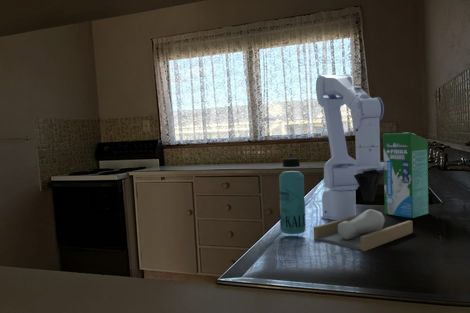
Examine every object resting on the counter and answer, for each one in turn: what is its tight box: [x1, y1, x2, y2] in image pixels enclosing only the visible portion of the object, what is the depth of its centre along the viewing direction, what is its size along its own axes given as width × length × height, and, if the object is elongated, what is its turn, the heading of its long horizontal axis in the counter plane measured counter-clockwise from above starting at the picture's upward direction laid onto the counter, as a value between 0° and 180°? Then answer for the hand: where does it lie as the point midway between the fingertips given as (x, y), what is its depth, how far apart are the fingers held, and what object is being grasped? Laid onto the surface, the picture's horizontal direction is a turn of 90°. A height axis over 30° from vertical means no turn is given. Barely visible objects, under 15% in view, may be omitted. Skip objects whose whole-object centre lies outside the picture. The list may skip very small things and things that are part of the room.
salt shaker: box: [338, 208, 386, 240], centre depth 92 cm, size 6×6×13 cm
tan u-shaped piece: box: [313, 213, 414, 252], centre depth 94 cm, size 14×21×3 cm, turn 128°
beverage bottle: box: [278, 157, 307, 235], centre depth 95 cm, size 6×7×20 cm
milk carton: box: [382, 132, 429, 219], centre depth 116 cm, size 9×9×25 cm
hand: (368, 200), depth 95 cm, fingers closed
